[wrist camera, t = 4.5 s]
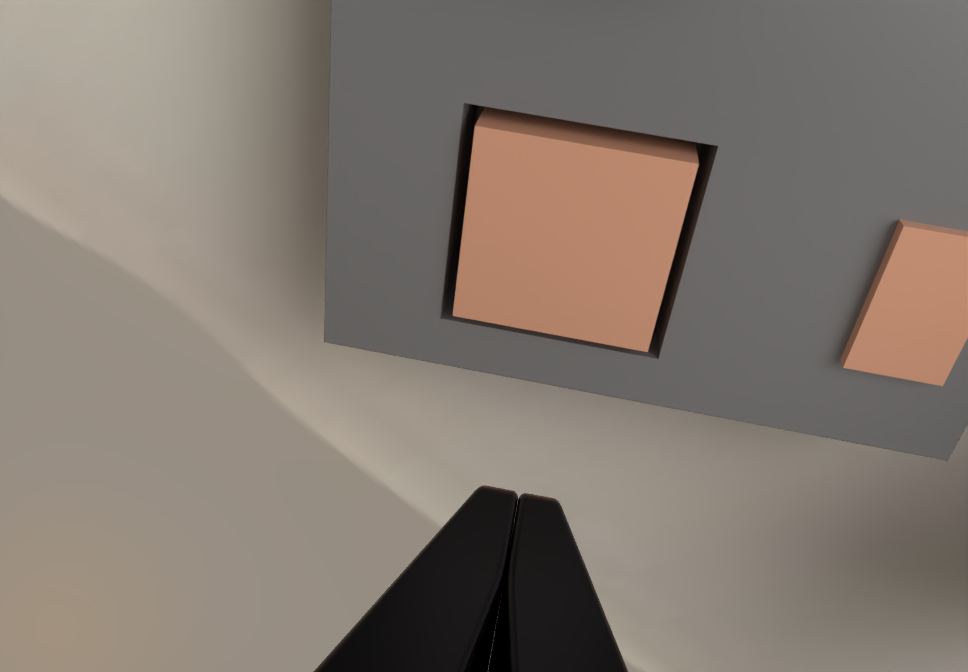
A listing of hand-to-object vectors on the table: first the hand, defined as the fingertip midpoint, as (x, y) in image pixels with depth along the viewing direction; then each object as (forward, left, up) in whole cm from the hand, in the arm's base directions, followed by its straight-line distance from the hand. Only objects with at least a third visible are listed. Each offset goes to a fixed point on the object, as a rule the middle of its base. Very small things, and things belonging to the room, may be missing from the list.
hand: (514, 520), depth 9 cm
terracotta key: (-1, 0, -11) cm, 11 cm away
